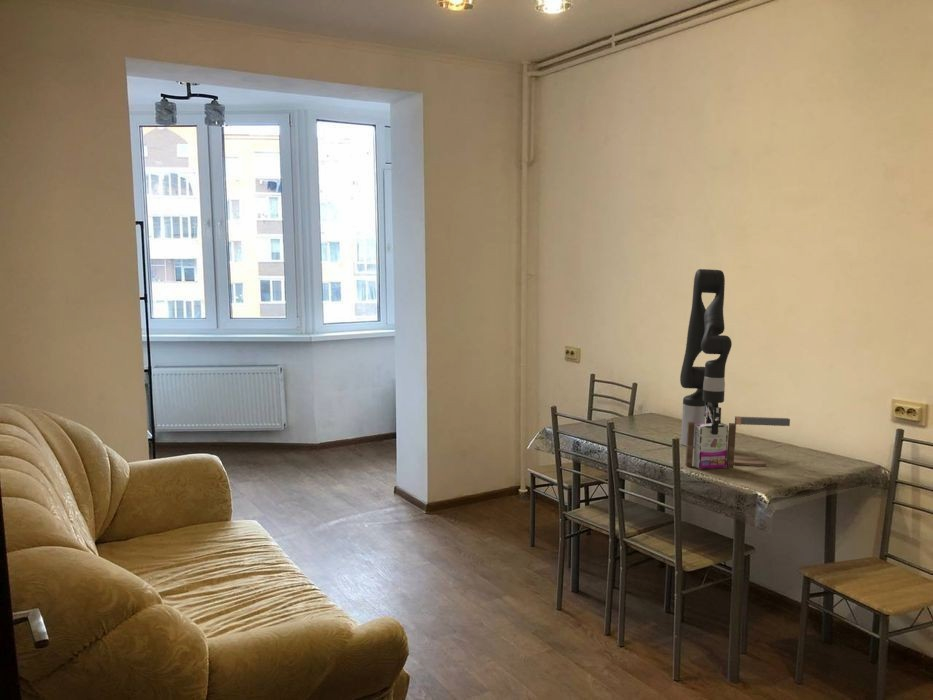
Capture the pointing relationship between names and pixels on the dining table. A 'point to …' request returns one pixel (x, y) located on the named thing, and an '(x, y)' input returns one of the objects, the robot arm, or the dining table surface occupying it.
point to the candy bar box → (710, 446)
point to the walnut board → (748, 460)
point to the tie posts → (729, 451)
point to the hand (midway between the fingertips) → (711, 431)
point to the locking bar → (762, 421)
